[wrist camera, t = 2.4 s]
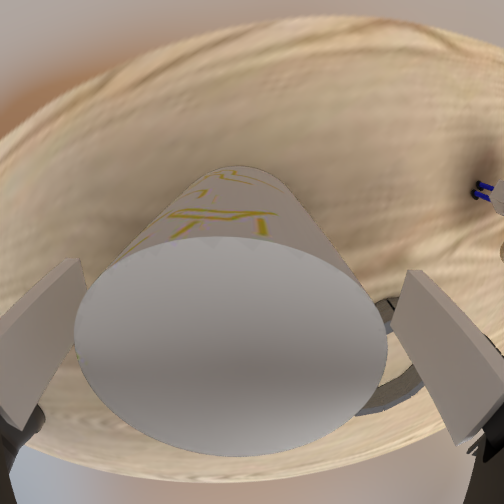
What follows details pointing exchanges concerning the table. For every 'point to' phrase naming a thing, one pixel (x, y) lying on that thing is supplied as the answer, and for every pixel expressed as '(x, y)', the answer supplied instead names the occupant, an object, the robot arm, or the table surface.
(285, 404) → the grey cylinder
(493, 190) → the toy
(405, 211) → the table surface
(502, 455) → the robot arm
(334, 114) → the table surface
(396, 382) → the collar
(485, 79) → the table surface
